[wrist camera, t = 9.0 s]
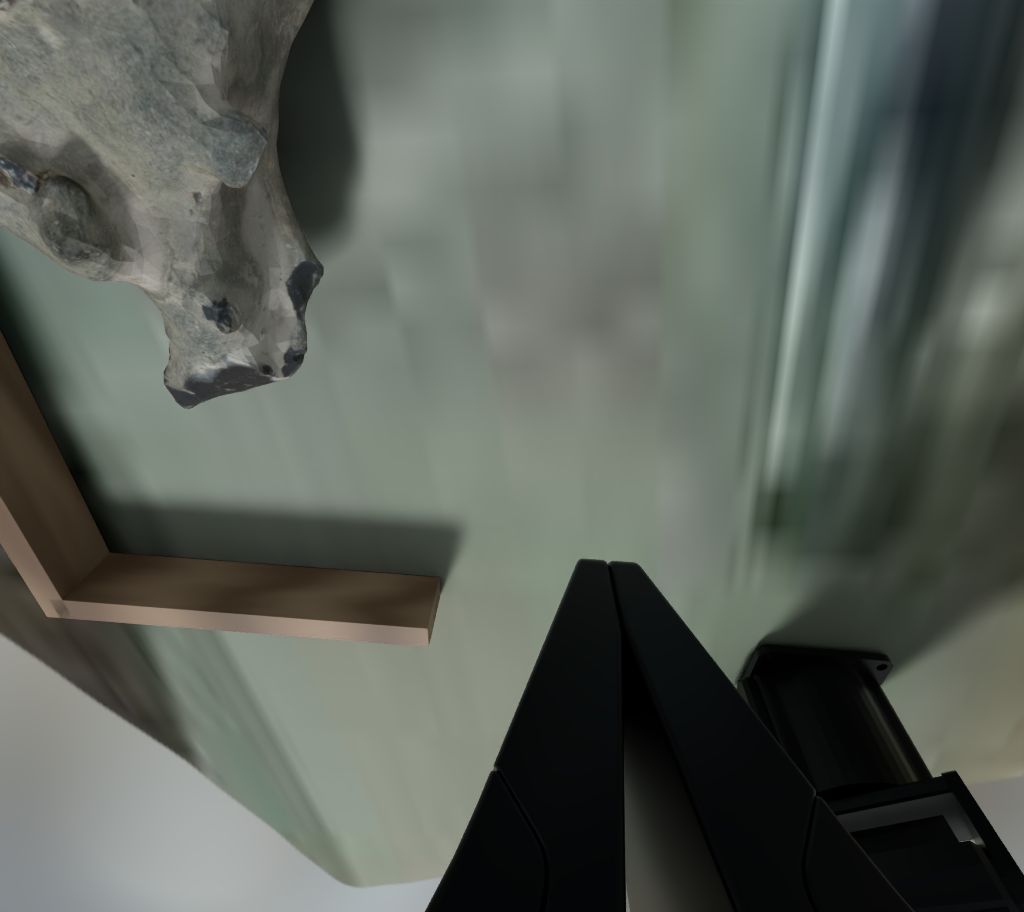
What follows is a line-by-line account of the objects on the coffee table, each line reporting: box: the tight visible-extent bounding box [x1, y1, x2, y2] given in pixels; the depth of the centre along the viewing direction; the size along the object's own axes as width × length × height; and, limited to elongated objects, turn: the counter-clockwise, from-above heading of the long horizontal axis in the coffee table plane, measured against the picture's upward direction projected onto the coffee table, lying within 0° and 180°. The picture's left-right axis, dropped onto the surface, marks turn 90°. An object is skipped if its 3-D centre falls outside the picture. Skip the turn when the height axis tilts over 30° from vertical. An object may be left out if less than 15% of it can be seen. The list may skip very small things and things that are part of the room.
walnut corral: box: [0, 330, 440, 647], centre depth 17 cm, size 17×28×3 cm, turn 178°
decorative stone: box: [0, 0, 324, 409], centre depth 12 cm, size 16×9×10 cm
